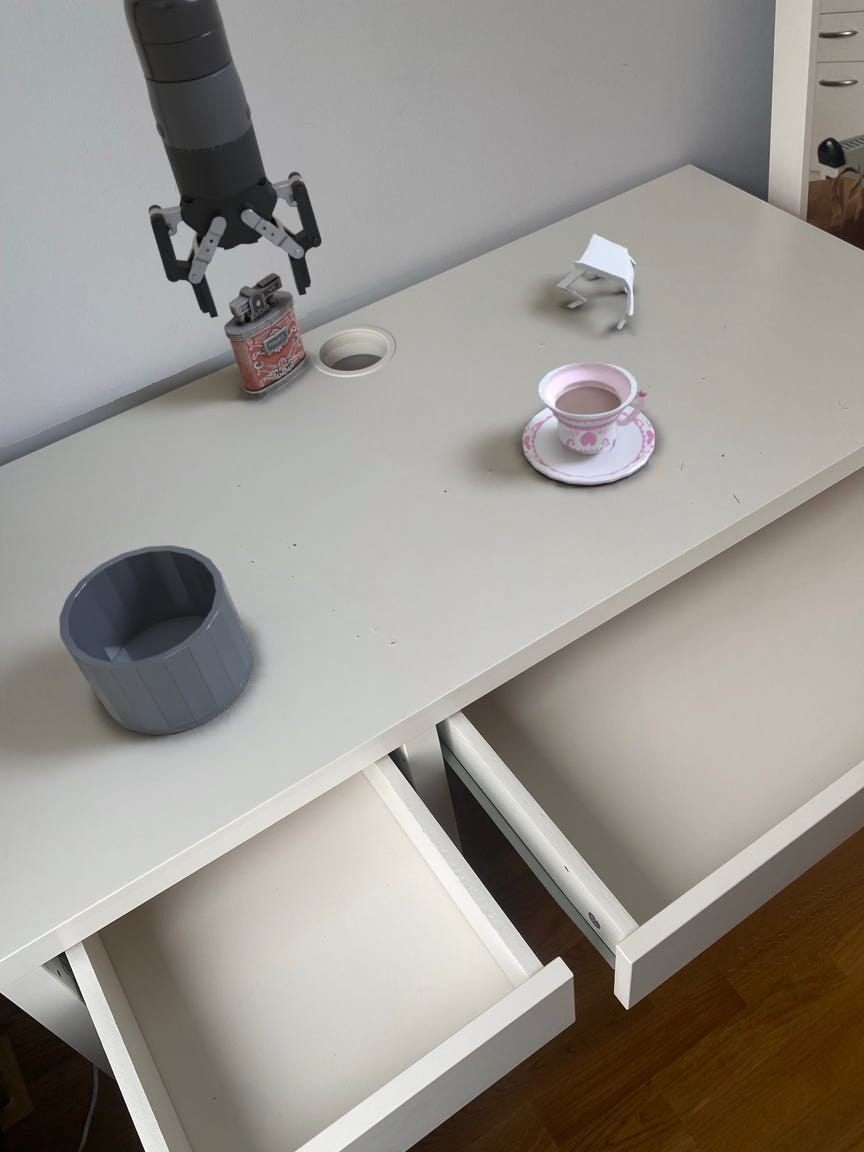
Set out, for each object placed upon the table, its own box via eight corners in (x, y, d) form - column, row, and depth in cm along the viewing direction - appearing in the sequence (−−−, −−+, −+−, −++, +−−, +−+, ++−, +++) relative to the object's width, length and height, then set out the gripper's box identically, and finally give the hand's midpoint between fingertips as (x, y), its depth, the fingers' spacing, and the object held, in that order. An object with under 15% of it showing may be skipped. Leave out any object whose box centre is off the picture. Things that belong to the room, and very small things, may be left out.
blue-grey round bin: (107, 754, 71) (62, 688, 65) (98, 639, 78) (56, 570, 72) (263, 707, 72) (234, 639, 66) (240, 599, 79) (211, 528, 73)
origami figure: (541, 294, 105) (540, 251, 101) (605, 268, 107) (606, 225, 103) (607, 346, 98) (608, 302, 94) (674, 317, 100) (677, 272, 96)
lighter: (260, 403, 96) (233, 313, 88) (237, 393, 98) (208, 303, 90) (316, 362, 100) (294, 272, 92) (293, 352, 101) (269, 262, 94)
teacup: (521, 490, 85) (518, 433, 80) (522, 405, 93) (519, 348, 88) (660, 484, 84) (665, 427, 79) (649, 399, 92) (653, 342, 87)
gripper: (282, 89, 83) (322, 265, 96) (115, 125, 81) (179, 300, 94) (298, 123, 78) (338, 303, 91) (122, 162, 77) (188, 341, 89)
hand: (257, 302), depth 92 cm, fingers open, 8 cm apart
